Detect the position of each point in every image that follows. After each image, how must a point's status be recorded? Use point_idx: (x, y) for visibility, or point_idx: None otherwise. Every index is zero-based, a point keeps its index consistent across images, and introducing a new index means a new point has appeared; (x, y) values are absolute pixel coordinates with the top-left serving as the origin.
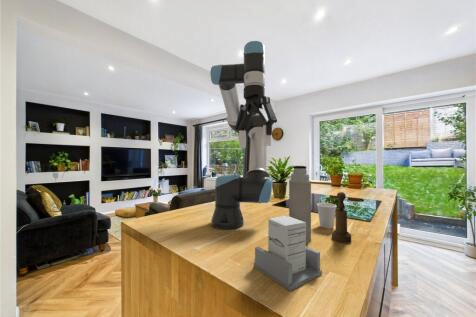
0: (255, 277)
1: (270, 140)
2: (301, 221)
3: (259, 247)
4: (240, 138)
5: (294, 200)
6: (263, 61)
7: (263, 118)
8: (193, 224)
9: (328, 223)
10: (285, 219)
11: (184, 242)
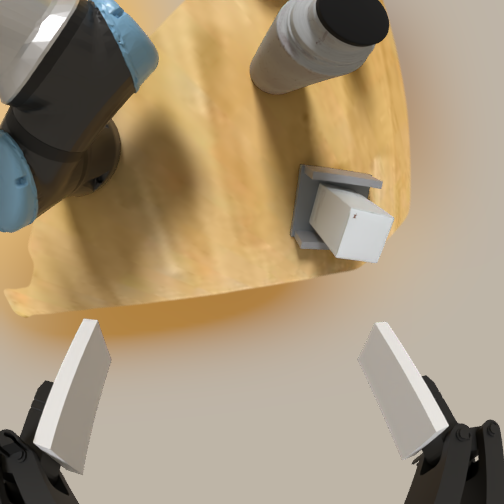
0: (309, 250)
1: (400, 346)
2: (387, 221)
3: (305, 242)
4: (94, 414)
5: (305, 83)
6: None
7: (417, 500)
8: (51, 223)
9: None
10: (363, 237)
11: (139, 277)
